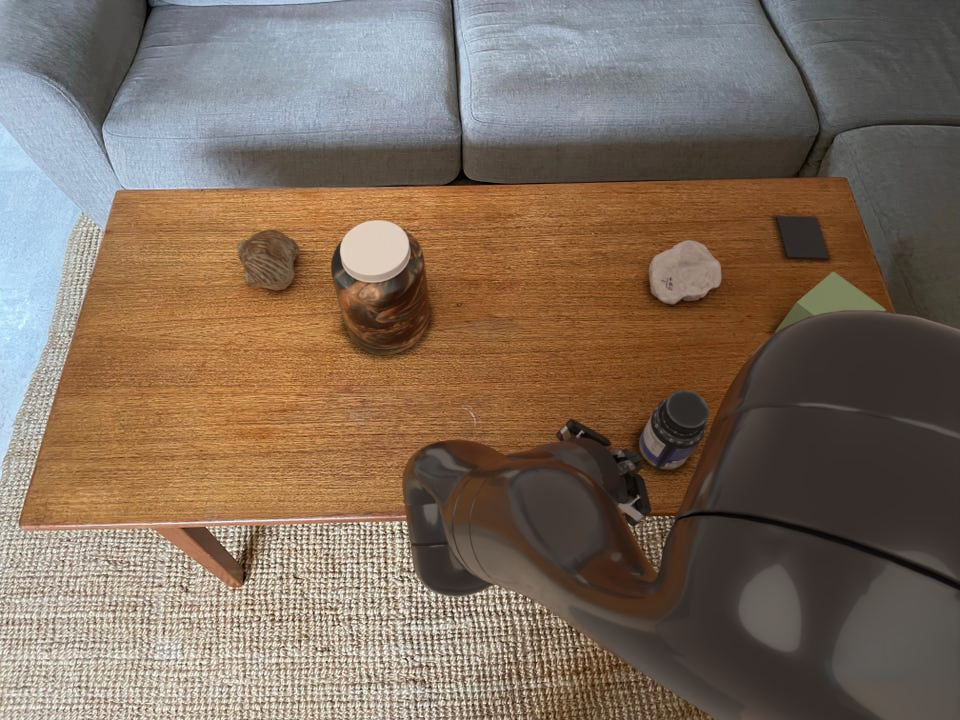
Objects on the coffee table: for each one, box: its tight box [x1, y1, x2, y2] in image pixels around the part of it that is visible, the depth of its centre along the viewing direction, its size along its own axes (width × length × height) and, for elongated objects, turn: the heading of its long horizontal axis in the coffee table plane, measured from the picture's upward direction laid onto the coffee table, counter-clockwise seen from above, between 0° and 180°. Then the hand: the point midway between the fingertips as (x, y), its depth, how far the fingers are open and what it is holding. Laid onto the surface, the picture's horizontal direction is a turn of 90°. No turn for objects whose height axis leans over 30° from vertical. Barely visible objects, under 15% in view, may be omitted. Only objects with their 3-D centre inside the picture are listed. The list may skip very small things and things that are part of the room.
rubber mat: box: [775, 215, 830, 260], centre depth 98 cm, size 8×6×1 cm
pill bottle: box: [638, 389, 710, 471], centre depth 75 cm, size 6×6×11 cm
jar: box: [330, 219, 431, 356], centre depth 83 cm, size 12×12×15 cm
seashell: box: [236, 229, 301, 291], centre depth 90 cm, size 9×7×8 cm
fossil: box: [648, 239, 723, 305], centre depth 91 cm, size 9×6×10 cm
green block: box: [774, 271, 887, 333], centre depth 86 cm, size 8×8×7 cm
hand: (633, 460), depth 74 cm, fingers closed
